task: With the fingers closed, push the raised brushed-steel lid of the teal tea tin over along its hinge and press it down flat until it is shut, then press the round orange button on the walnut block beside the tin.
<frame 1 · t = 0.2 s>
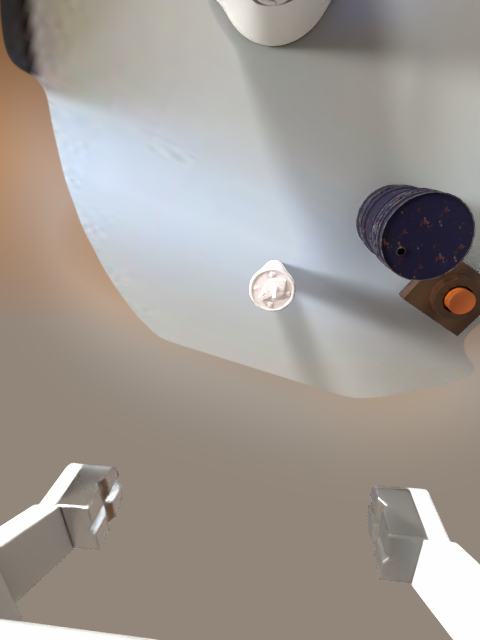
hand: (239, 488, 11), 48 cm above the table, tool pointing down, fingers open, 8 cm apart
button block: (446, 290, 55), on the table
button: (459, 300, 51), point 4 cm above the table, slide at 0.1 cm
oil barrel: (389, 219, 52), on the table
smoothie: (274, 271, 57), on the table
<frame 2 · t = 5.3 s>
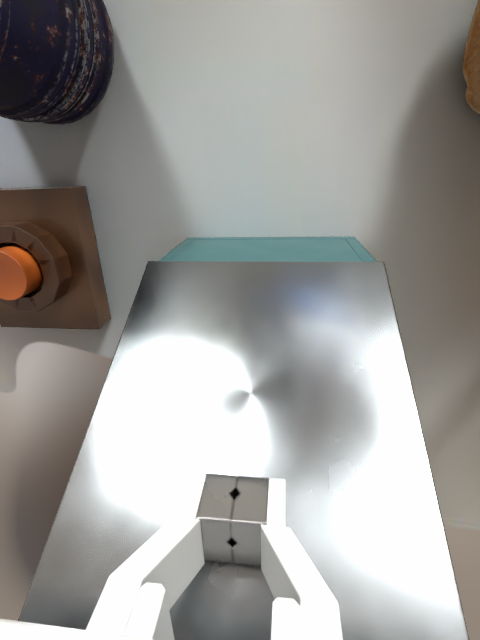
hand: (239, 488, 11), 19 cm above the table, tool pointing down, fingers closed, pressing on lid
button block: (48, 257, 29), on the table
button: (10, 272, 25), point 4 cm above the table, slide at 0.1 cm
tea tin: (268, 324, 30), on the table
lid: (251, 397, 14), point 15 cm above the table, hinge at 61.7°, touching gripper
oil barrel: (45, 42, 23), on the table
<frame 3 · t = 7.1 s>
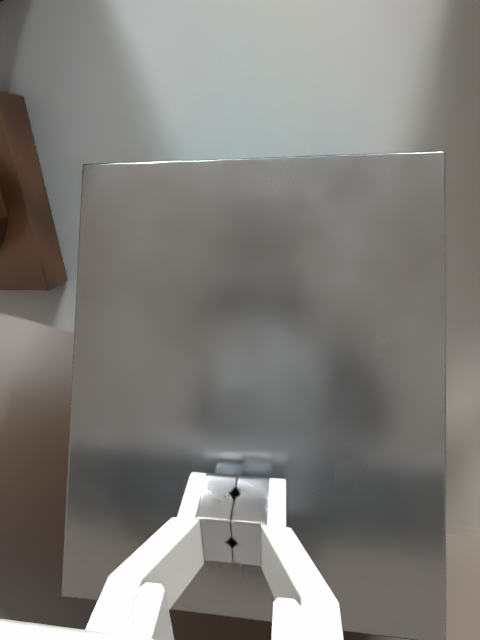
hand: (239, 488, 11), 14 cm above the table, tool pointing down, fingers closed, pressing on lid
lid: (248, 379, 12), point 12 cm above the table, hinge at 26.8°, touching gripper
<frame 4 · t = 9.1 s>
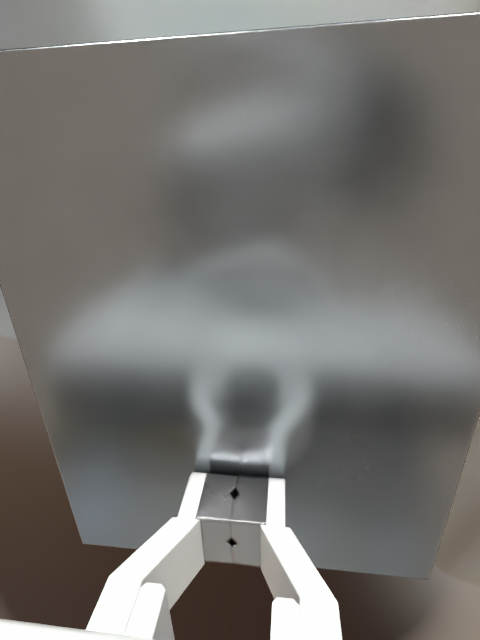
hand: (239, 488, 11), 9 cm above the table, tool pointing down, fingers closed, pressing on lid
lid: (240, 373, 10), point 8 cm above the table, hinge at -0.2°, touching gripper, tea tin
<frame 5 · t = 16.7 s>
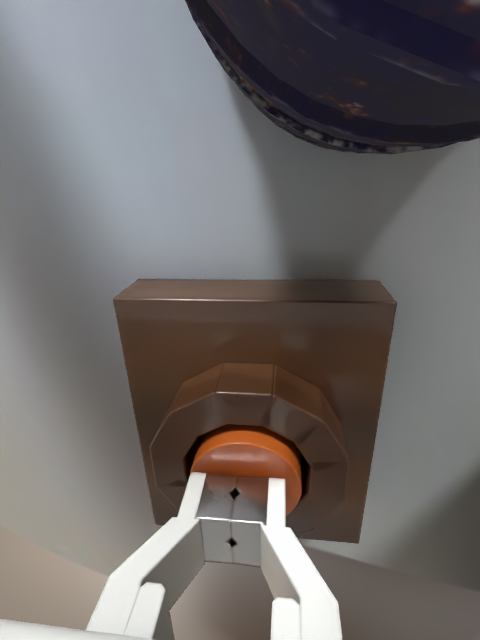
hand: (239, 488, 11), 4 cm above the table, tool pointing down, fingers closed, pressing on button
button block: (255, 401, 15), on the table
button: (247, 465, 12), point 4 cm above the table, slide at -0.8 cm, touching gripper
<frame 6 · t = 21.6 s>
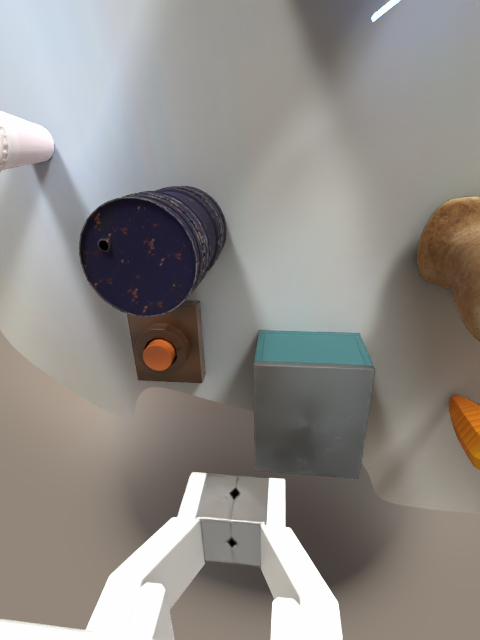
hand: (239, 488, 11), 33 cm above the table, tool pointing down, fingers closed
button block: (170, 338, 48), on the table
button: (159, 354, 44), point 4 cm above the table, slide at 0.1 cm
tea tin: (305, 380, 48), on the table
lid: (309, 422, 40), point 8 cm above the table, hinge at -0.2°, touching tea tin
carrot: (452, 395, 46), on the table
oil barrel: (186, 229, 42), on the table
smoothie: (39, 143, 40), on the table
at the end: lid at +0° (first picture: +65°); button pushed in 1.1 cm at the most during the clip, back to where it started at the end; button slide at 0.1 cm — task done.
